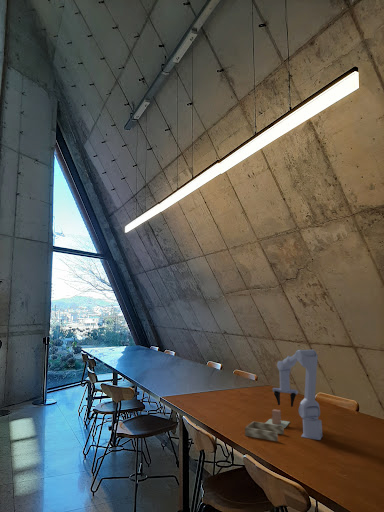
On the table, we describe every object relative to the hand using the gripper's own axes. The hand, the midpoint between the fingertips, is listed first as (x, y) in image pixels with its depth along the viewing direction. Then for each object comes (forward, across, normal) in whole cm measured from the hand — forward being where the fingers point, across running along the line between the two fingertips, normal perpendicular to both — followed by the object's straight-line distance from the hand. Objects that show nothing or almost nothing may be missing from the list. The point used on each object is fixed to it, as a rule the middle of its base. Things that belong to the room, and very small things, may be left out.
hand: (285, 405), depth 211 cm
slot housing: (+9, +4, +27) cm, 29 cm away
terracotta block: (+9, +4, +6) cm, 11 cm away
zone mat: (+9, +4, +5) cm, 11 cm away
